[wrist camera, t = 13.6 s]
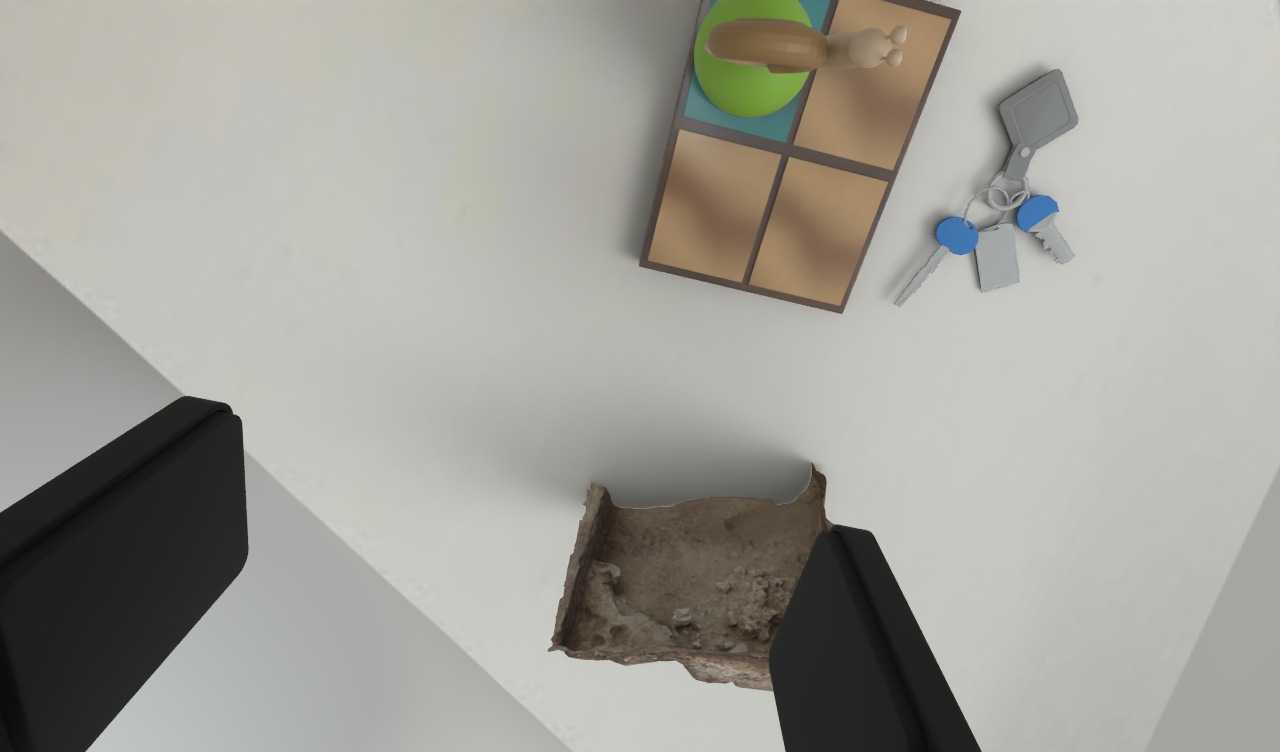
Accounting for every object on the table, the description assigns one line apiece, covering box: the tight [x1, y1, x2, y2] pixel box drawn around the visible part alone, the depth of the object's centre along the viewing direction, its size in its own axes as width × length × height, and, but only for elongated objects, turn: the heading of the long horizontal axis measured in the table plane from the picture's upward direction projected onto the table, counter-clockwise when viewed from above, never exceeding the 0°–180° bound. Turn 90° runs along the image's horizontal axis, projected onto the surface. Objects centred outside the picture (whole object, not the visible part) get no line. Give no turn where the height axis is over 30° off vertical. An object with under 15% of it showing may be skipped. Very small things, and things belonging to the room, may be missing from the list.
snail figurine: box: [694, 0, 907, 118], centre depth 26 cm, size 5×6×12 cm
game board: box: [639, 0, 961, 314], centre depth 34 cm, size 16×12×1 cm
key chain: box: [894, 69, 1078, 308], centre depth 35 cm, size 14×8×1 cm, turn 161°
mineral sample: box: [548, 463, 835, 691], centre depth 37 cm, size 17×4×15 cm, turn 95°
